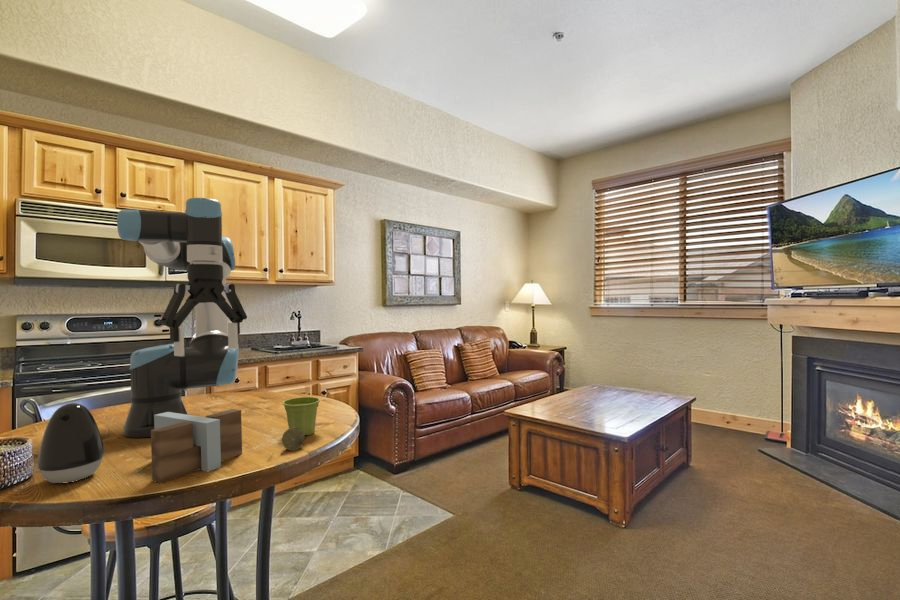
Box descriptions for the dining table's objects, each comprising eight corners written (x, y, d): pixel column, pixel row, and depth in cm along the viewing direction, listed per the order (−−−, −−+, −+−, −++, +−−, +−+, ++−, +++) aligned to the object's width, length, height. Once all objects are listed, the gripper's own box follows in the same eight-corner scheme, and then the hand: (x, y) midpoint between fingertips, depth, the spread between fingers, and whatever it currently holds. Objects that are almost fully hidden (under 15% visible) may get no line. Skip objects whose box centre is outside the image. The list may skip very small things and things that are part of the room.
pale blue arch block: (155, 459, 99) (154, 414, 99) (168, 455, 102) (167, 411, 102) (207, 471, 91) (206, 423, 91) (221, 466, 94) (219, 419, 94)
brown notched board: (152, 481, 87) (150, 430, 87) (233, 451, 103) (232, 408, 103) (161, 483, 86) (159, 431, 86) (242, 453, 102) (241, 410, 102)
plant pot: (326, 428, 121) (325, 396, 121) (312, 439, 111) (311, 404, 111) (293, 428, 122) (292, 396, 122) (276, 439, 112) (275, 404, 112)
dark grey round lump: (307, 446, 106) (306, 425, 106) (294, 453, 101) (293, 431, 101) (291, 445, 107) (290, 424, 107) (277, 451, 103) (277, 430, 103)
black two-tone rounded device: (27, 494, 83) (25, 412, 83) (50, 474, 92) (49, 401, 92) (95, 483, 87) (93, 405, 87) (111, 466, 96) (109, 395, 96)
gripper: (159, 260, 94) (162, 360, 95) (260, 265, 116) (262, 346, 117) (140, 262, 98) (143, 358, 98) (241, 266, 120) (243, 344, 120)
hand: (207, 352), depth 108 cm, fingers open, 13 cm apart
